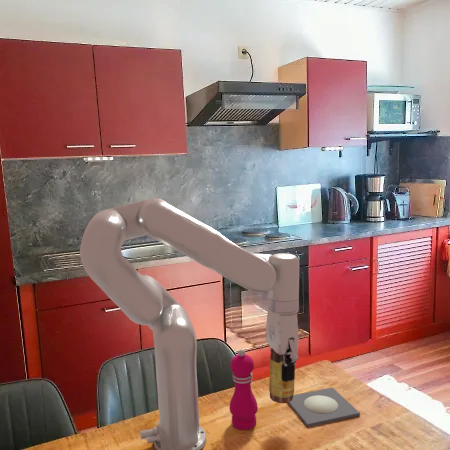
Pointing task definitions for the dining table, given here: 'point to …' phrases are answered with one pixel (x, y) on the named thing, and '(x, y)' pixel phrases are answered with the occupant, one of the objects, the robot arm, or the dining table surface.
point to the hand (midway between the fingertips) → (282, 373)
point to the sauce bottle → (279, 380)
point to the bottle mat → (322, 407)
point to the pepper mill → (243, 392)
